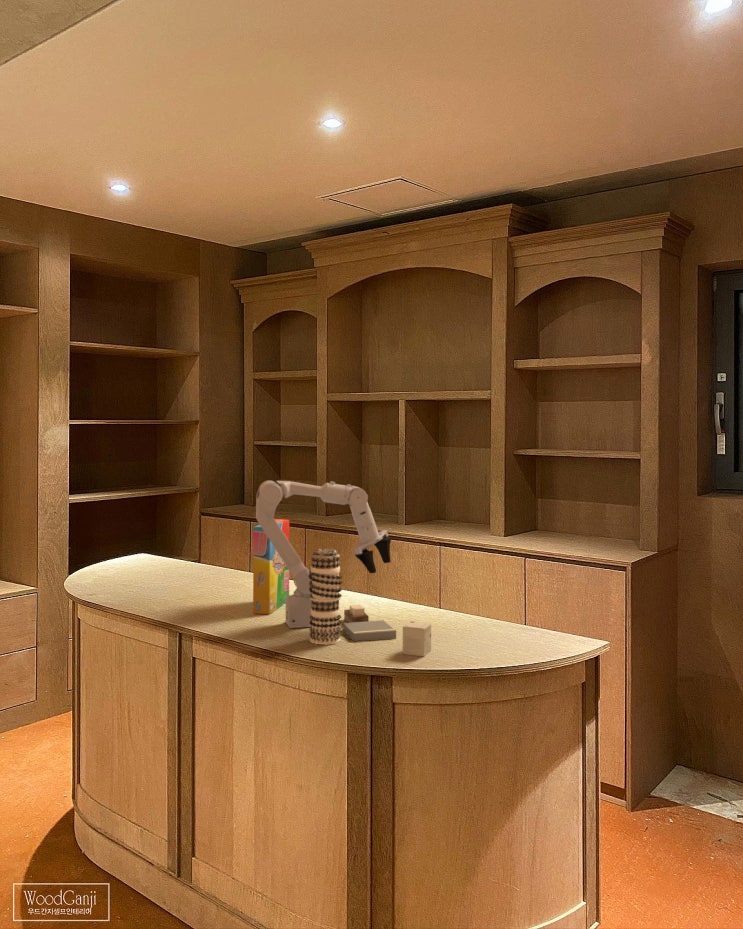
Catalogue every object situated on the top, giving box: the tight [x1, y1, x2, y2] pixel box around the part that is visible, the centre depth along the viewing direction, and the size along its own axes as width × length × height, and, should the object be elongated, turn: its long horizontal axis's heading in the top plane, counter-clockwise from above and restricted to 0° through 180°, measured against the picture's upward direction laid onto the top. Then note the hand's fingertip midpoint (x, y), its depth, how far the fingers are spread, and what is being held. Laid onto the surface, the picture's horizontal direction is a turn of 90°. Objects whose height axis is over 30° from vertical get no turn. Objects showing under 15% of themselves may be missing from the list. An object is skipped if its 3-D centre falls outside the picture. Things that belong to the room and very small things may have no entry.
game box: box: [252, 518, 290, 615], centre depth 257 cm, size 21×6×27 cm, turn 168°
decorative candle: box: [308, 548, 343, 646], centre depth 219 cm, size 9×9×25 cm
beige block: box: [349, 604, 365, 616], centre depth 239 cm, size 3×5×3 cm, turn 16°
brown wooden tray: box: [343, 608, 370, 623], centre depth 239 cm, size 5×9×3 cm, turn 16°
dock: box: [342, 619, 397, 642], centre depth 227 cm, size 12×12×2 cm
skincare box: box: [402, 620, 432, 657], centre depth 210 cm, size 6×6×7 cm
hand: (380, 567), depth 241 cm, fingers open, 7 cm apart
